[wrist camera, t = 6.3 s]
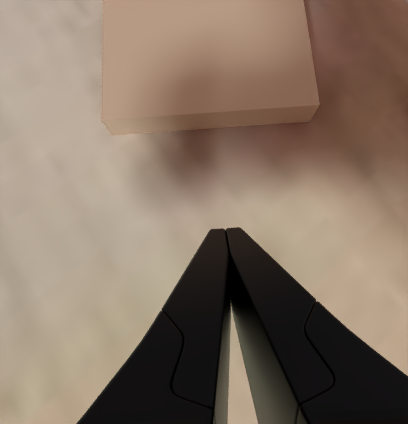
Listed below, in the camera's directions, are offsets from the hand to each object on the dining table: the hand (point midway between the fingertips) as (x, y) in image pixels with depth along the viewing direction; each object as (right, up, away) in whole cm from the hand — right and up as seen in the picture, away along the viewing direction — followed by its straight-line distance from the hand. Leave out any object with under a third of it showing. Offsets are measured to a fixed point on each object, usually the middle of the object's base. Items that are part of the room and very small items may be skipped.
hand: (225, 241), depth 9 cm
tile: (0, +6, +9) cm, 11 cm away
